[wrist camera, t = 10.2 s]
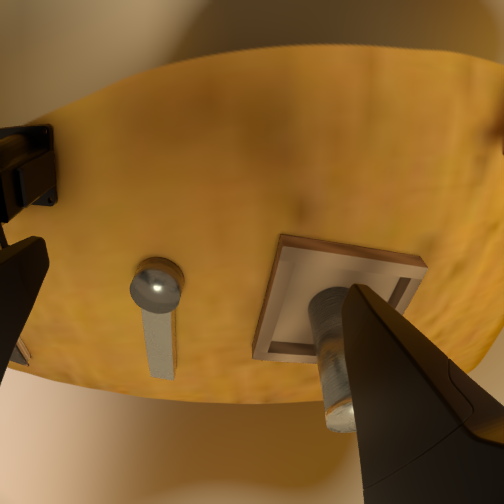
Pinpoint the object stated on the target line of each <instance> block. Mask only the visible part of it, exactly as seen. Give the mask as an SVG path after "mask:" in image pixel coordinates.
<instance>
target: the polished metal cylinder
mask: <svg viewBox="0 0 504 504" xmlns="http://www.w3.org/2000/svg"><path fill="white" fill-rule="evenodd" d="M348 291H349V288H346V287H331V288H327V289H325V290H323V291H321V292H319V293H318V294H316V295H315V296H314V297H313V298H312V300H311V301H310V303H309V305H308V315H309V320H310V325H311V331H312V336H313V342H314V347H315V353H316V358H317V364H318V370H319V375H320V381H321V387H322V393H323V399H324V405H325V412H326V413H325V417H326V423H327V427H328V429H330V430H331V431H334V432H342V433H344V432H345V433H346V432H355V431H356V425H355V418H354V411H353V405H352V398H351V392H350V386H349V380H348V374H347V369H346V363H345V355H344V343H343V329H342V318H341V308H342V304H343V302H344V300H345V297H346V295H347V293H348Z"/></svg>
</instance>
